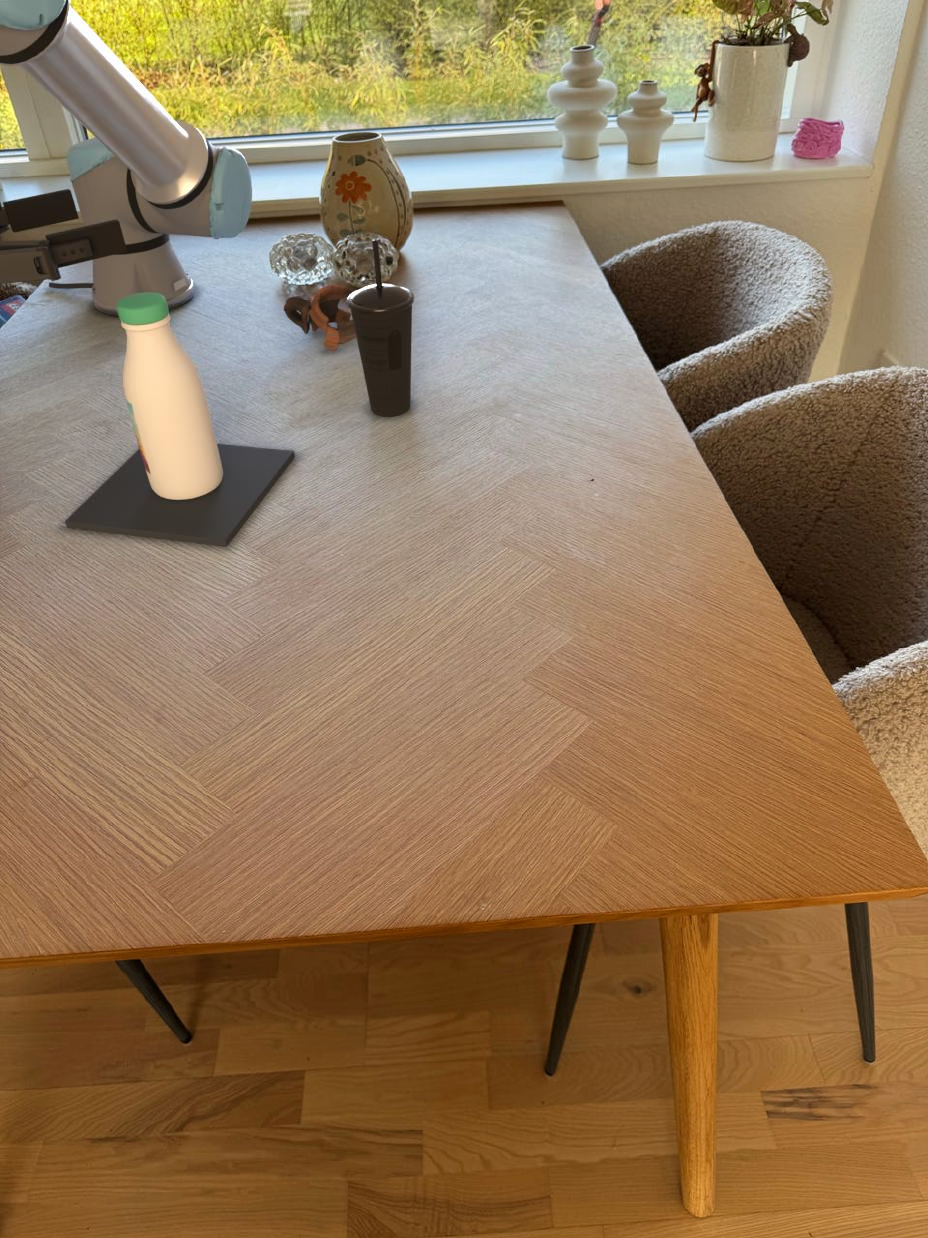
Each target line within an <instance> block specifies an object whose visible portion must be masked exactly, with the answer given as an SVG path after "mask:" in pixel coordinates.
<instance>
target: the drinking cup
mask: <svg viewBox="0 0 928 1238" xmlns="http://www.w3.org/2000/svg"><path fill="white" fill-rule="evenodd" d="M371 245H372V246H371V247H372V255H373V256H372V257H373V265H374V276H375V283H373V284H370V285H366V286H364V287H362V288H359V289H358V290H357V289H356V290H357V291H355V292H353V293H352V294H350V295H347V296H348V297H347V298H346V305H347V307H348V308H349V309H350V313H351V318H352V319H351V320H353V323H354V328H355V333H356V338H355V339H356V342H357V347H358V352H359V356H360V361H361V367H362V373H363V376H364V382H365V386H366V391H367V395H368V400H369V401H368V402H369V406H370V410H371V412H372V413H373V414H375V415H376V416H380V417H385V418H387V417H391V418H392V417H397V416H401V415H404V414H406V413H407V412H408V411H409V410H410V409H411V391H412V390H411V389H412V388H411V387H412V335H413V334H412V333H413V332H412V330H413V327H412V326H413V304H414V302H415V295H414V293H413V291H411V290H410V289H408V288H406V287H403V286H399V285H396V284H392V283H383V279H382V268H381V267H382V266H381V257H380V256H381V255H380V246H379V238H372V239H371Z"/></svg>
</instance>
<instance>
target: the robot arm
mask: <svg viewBox="0 0 928 1238" xmlns="http://www.w3.org/2000/svg"><path fill="white" fill-rule="evenodd" d="M0 65H2V66H7V67H17V66H19V67H20V68H21V69H22V70H23V71H24V72H25V73H26V74H27V75H28V76H29V77H31V79H33V80H34V81H35V82H36V83H37V84H38V85H39V86H40V87H41V88H42V89H43V90H44V91H46V93H47V94H49V95H50V96H51V97H52V98H53V99H54V100H55V101H56V102H57V103H58V104H59V105H61V107H62V108H64V109H65V110H66V111H67V112H68V113H69V114H70V115H71V116H72V117H73V118H74V119H75V120H76V121H78V123H80V124H81V126H83V127H84V128H85V129H86V130H87V131H88V132H89V133H90V134H91V135H92V136H94V137H92V138H88V139H85V140H81V141H79V142H77V143H75V144H73V145H72V146H70V147H69V148H68V150H67V152H66V163H67V167H68V171H69V175H70V178H69V181H70V183H71V185H72V189H73V192H74V195H75V199H76V203H77V205H78V209H79V212H80V215H81V218H82V222H83V226H80V227H75V228H71V229H68V230H63V231H58V232H53V233H49V234H45V235H44V236H45V237H44V238H45V239H31V240H30V239H29V240H23V239H21V240H0V285H5V284H17V283H28V282H37V281H46V280H48V281H51V282H48V287H49V288H51V289H60V290H73V289H74V290H75V289H91V297H92V300H93V304H94V306H95V309H96V310H98V312H101V313H102V314H106V315H110V316H117V317H119V315H118V312H117V303H118V301H119V300H120V299H122V298H124V297H126V296H129V295H133V294H137V293H146V292H152V293H158V294H161V295H163V296H164V297H165V299H166V301H167V305H168V309H169V310H172V309H175V308H178V307H180V306H182V305H184V304H186V303H187V302H188V301H191V299H192V298H193V297H194V295H195V287H194V283H193V279H192V278H191V275H190V273H189V272H188V271H187V270H186V269H185V267H184V265H183V263H182V260H181V258H180V256H179V255H178V252H177V251H176V249H175V247H174V245H173V243H172V240H171V236H170V235H175V236H176V235H177V236H178V235H179V236H189V237H202V238H212V239H214V240H219V239H233V238H235V237H237V236H239V235H240V234H241V233H242V232H243V231H244V229H245V228H246V226H247V223H248V222H249V219H250V215H251V210H252V205H253V204H252V203H253V186H252V176H251V171H250V168H249V167H250V166H249V164H248V162H247V161H246V158H245V156H244V155H243V154H242V152H240V151H239V150H238V149H236V148H230V147H229V146H223V147H216V146H214V145H212V143H211V142H210V141H209V140H208V139H207V138H206V137H205V136H204V134H203V133H202V132H201V131H200V130H199V129H198V128H196V126H194V125H193V124H191V123H189V122H188V121H184V120H175V119H174V118H173V117H172V116H171V114H169V113H168V112H167V110H166V109H165V108H164V107H163V106H162V105H161V104H160V102H158V101H157V99H156V98H155V97H154V95H152V93H150V92H149V91H148V89H147V88H146V87H145V86H144V85H143V84H142V83H141V82H140V81H139V80H138V78H136V77H137V76H135V75H134V74H133V73H132V72H131V71H130V69H129V68H128V67H127V66H126V65H125V64H124V63H123V62H122V61H121V59H120V58H119V57H118V56H117V55H116V54H115V53H114V52H113V51H112V50H111V48H110V47H109V46H108V45H107V44H106V42H104V41H103V40H102V38H101V37H100V36H99V35H98V34H97V33H96V32H95V31H94V30H93V29H92V28H91V26H90V25H89V24H88V23H87V22H86V21H85V20H84V18H83V17H81V16H80V14H79V13H78V12H77V11H76V10H75V8H74V7H73V6H72V5H71V0H0ZM79 219H80V217H79V214H78V210H77V207H76V204H75V200H74V197H73V193H72V190H71V189H69V188H66V189H61V190H56V191H55V190H54V191H51V192H45V193H42V194H41V193H40V194H37V195H31V196H26V197H22V198H17V199H12V200H7V201H2V203H1V201H0V235H1V234H5V232H7V231H10V229H11V232H13V233H14V234H15V233H21V232H25V231H30V230H33V229H38V228H43V227H48V226H51V225H57V224H60V223H65V222H69V221H74V220H79ZM9 226H10V227H9ZM90 261H92V282H74V283H73V282H71V283H57V282H55V281H59V280H60V279H62V276H61V272H60V269H62V268H65V267H69V266H73V265H78V264H82V263H86V262H90Z"/></svg>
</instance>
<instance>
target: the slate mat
mask: <svg viewBox="0 0 928 1238" xmlns="http://www.w3.org/2000/svg"><path fill="white" fill-rule="evenodd" d="M217 447H218V451H219V455H220V460H221V464H222V469H223V477H222V481H221V483H220V484H219V485H218V486H217V487H216V488H215V489H214V490H212V491H211V492H209V493H207V494H205V495H202V496H199V497H195V498H191V499H184V500H172V499H166V498H163V497H161V496H159V495H157V494H156V493H155V491H154V490H153V489H152V488H151V485H150V482H149V479H148V475H147V472H146V468H145V465H144V462H143V458H142V455H141V451H140V448H138V449H137V450H136V451H135V452H134V454H132V455H131V456H130V457H129V458H128V459H127V460H126V461H125V462H124V463H123V464H122V465H121V466H120V467H119V468H117V470H116V471H115V472H114V473H113V474H112V475H111V476H109V478H108V479H106V480H105V482H103V483H102V484H101V485H100V486H99V488H97V489H96V490H95V492H93V493H92V494H91V495H90V496H89V497H88V498H87V499H86V500H85V501H84V502H83V503H82V504H81V505H80V506H79V507H77V509H76V510H75V511H74V512H73V513H71V515H69V517H67V519H66V520H65V521H64V523H65V526H66V528H67V529H68V528H69V529H74V530H75V529H76V530H77V529H78V530H85V531H93V532H102V533H109V534H119V535H127V536H134V537H141V538H143V537H144V538H151V539H160V540H167V541H168V540H169V541H175V542H176V541H177V542H183V543H184V542H186V543H194V544H202V545H209V546H217V547H228V545H229V544H230V543H231V542H232V540H233V539H234V538H235V536H236V535H237V534H238V532H239V531H240V530H241V528H242V527H243V526H244V524H245V523H246V522H247V520H248V519H249V518H250V517H251V516H252V515H253V512H254V511H255V510H256V509H257V507H258V506H260V503H261V502H262V501H263V500H264V498H265V497H266V496H267V494H268V493H269V492H270V491H271V489H272V488H273V486H274V485H275V484H276V483H277V481H278V480H279V479H280V477H281V476H282V475H283V473H284V472H285V471H286V470H287V468H288V467H289V466H290V465H291V463H292V462H293V460H294V459H295V458H296V455H295V454H296V453H295V451H294V450H289V449H279V448H278V449H277V448H266V447H255V446H246V445H235V444H227V443H226V444H225V443H217Z"/></svg>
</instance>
